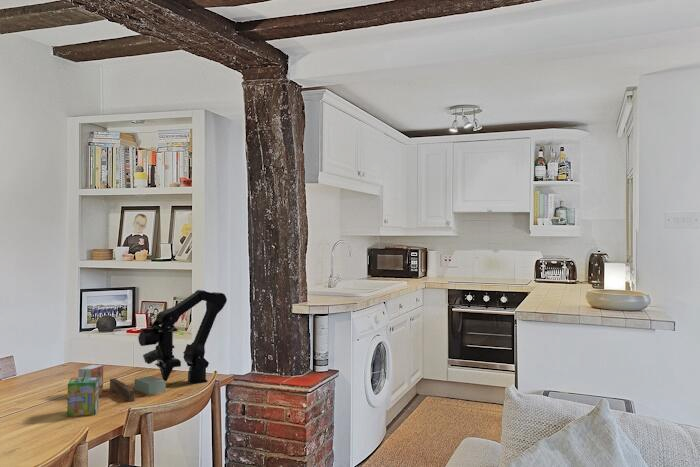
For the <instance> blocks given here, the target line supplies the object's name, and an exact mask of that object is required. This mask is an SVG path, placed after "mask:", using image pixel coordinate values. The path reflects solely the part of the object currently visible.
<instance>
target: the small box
mask: <svg viewBox="0 0 700 467" xmlns="http://www.w3.org/2000/svg"><path fill="white" fill-rule="evenodd" d="M87 369H88V370H87ZM86 370H87V374H86V377H98V376H99V393H98V394H100V393H102V392H104V365H102V364H90V365H87V366H84V367H80V368H78V377H84V374H85V371H86Z"/></svg>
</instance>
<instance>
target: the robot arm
mask: <svg viewBox="0 0 700 467" xmlns="http://www.w3.org/2000/svg"><path fill="white" fill-rule="evenodd" d="M227 300H228V298H227V296H226V294H225V293H223V292H217V291H216V292H215V291H213V292H209V291H205V290H202V289H201V290H200V289H197V290H195V291H194V293H192V294H191V295H189V296H188V297H186V298H185V299H183V300H182V301H181V302H179V303H177V304H176V305H174V306H173V307H170V308H166V309H164V310H162V311H159V312H158V313H157V314H156V317H155V319H154V321H153V322H152V324H151V326H150V327H149V328H147V327H146V328H145V327H144V328H141V329H140V332H139V335H138V337H137V340H138V344H139V346H142V347H144V346H145V347H146V346H152V345H154V346H155V345H156V346H155V349H153V350H151V351H148V352H147V353H144V354H143V355H142V357H143V360H144V363H145V364H146V363H147V365H151V364H153V362H156V363H155V364H154V365H155V366H157V367H158V368H159V371H160V374H161V377H162V378H161V379H162V380H165V381H166V382H168V379H169V377H170V375H171V373H172V371H173V369H174V368H178V367H179V368H180V367H182V361H181V360H180V359H178V358H176V357H175V355H174V353H173V350H174V349H175V345H174V342H173V340H174V338H173V336H174V332H178V331H179V329H178V328H177V327H175V324H176V323H177V322H178V321H179V319H180V317H181V316H182V315H183V314H185V313H187V312H188V311H190V310H191V309H192V308H193V307H195V306H197V304H199V303H201V302H202V301H204V302H205V308H206V309H205V313H204V315H203V317H202V320H201V323H200V326H199V327H198V330H197V333H196V334H195V338H194V340H193V341H192V343H191V344H188V343H187V344H186V346H185V349H184V351H183V352H182V354H183V359H184V362H185V363H186V365H187V367H189V368H188V371H187V382H188V383H191V384H193V385H194V384H200V383H201V384H202V383H207V382H208V381H209V380H208V379H207V368H208V367H209V365H210V362H209V361H208V360H207V359H206V358H205V355H206V350H205V349H206V348H205V346H206V343H207V340H208V337H209V336H210V332H211V330H212V328H213V326H214V323H215V320H216V317H217V315H218V314H219V313H220V312H221V311H223V309H224V307H225V305H226V303H227Z"/></svg>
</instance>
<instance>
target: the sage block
mask: <svg viewBox="0 0 700 467" xmlns="http://www.w3.org/2000/svg"><path fill="white" fill-rule="evenodd" d="M166 382H167V381H165V380H163V378H158V377H155V376H152V375H147V376H142V377H138V378H134V390H135V391H138V392H140V393H144V394H146V395H154V394H155V395H156V394H159V393H165V392H166V388H167V387H166Z"/></svg>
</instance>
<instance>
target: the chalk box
mask: <svg viewBox="0 0 700 467" xmlns="http://www.w3.org/2000/svg"><path fill="white" fill-rule="evenodd" d="M87 370H88V369H87ZM87 370H86V371H85V374H84V377H79V376H78V377H77V376H76V377H71V379H70V380H69V382H68V383H67V405H66V406H67V410H66V411H67V413H66V416H67V418H71V417H72V418H73V417H83V416H84V417H85V416H86V417H87V416H95V415H96V414H97V413H98V410H99V394H100V393H99V376H98V377H86V374H87Z"/></svg>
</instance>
